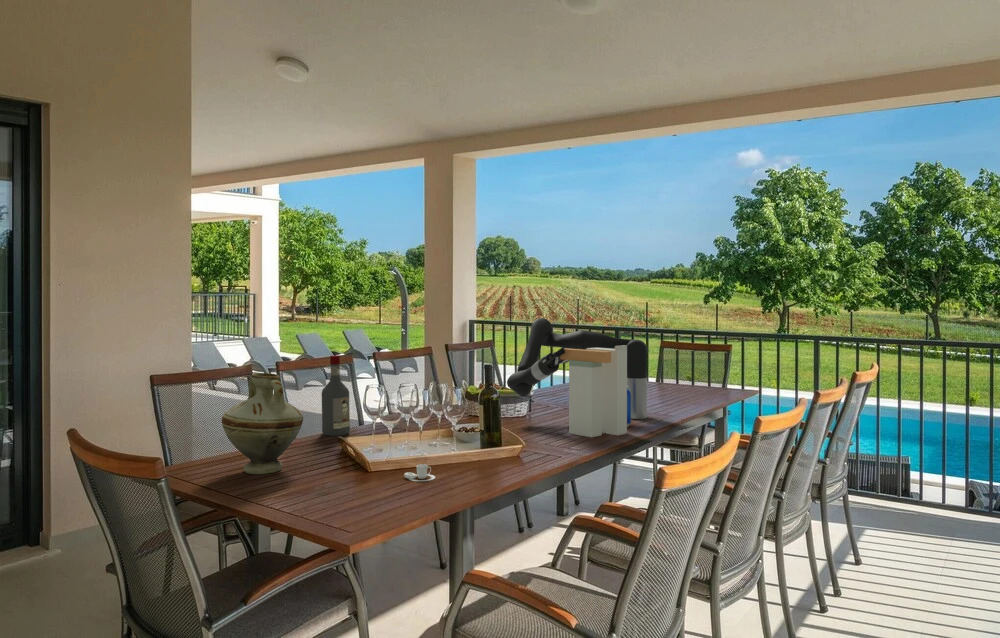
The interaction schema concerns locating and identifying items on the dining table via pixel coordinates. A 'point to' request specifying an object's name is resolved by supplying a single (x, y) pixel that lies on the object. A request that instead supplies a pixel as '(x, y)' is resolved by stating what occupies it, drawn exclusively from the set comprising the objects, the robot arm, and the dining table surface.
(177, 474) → the dining table surface
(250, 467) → the amphora
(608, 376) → the white post
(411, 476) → the teacup and saucer
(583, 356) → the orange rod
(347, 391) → the liquor
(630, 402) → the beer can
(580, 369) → the green-topped post
